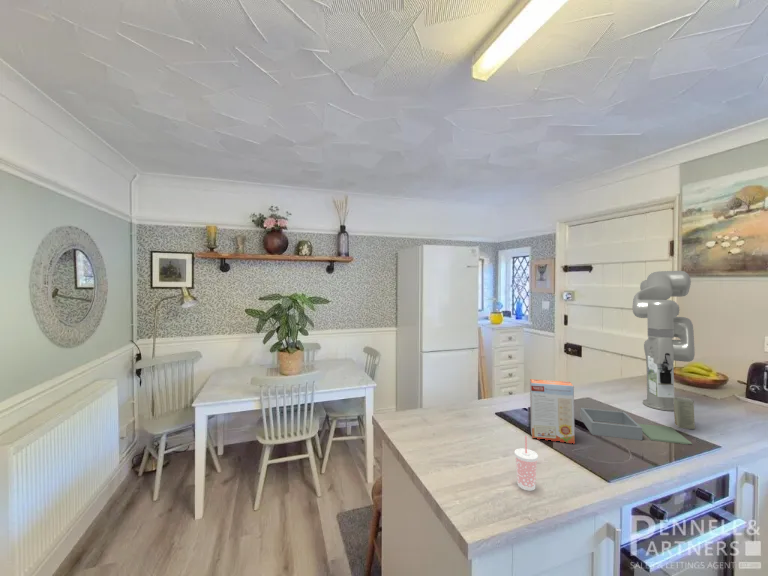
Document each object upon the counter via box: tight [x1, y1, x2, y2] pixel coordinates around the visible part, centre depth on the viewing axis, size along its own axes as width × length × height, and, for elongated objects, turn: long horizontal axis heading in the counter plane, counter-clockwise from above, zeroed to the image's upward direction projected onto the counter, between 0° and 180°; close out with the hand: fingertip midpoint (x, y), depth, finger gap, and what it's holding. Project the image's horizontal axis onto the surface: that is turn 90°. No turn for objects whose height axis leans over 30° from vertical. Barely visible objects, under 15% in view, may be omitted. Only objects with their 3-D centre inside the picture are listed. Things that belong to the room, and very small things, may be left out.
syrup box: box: [648, 356, 675, 398], centre depth 122 cm, size 6×6×14 cm
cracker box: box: [529, 379, 576, 445], centre depth 119 cm, size 14×6×21 cm, turn 71°
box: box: [673, 396, 696, 430], centre depth 128 cm, size 5×4×11 cm
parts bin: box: [580, 407, 643, 441], centre depth 127 cm, size 16×16×4 cm
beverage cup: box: [514, 435, 539, 491], centre depth 91 cm, size 6×6×14 cm
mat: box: [638, 423, 693, 445], centre depth 122 cm, size 14×12×1 cm
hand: (660, 380), depth 122 cm, fingers closed on syrup box, 6 cm apart
